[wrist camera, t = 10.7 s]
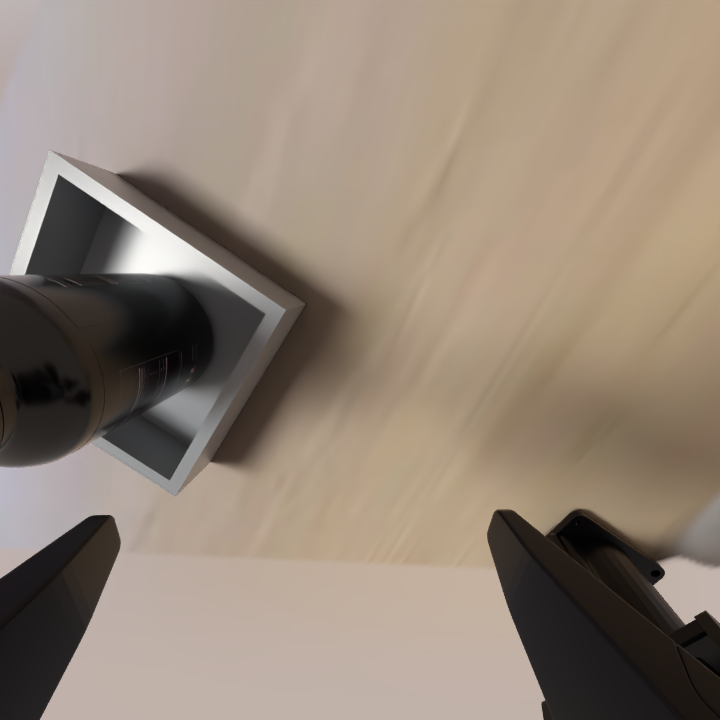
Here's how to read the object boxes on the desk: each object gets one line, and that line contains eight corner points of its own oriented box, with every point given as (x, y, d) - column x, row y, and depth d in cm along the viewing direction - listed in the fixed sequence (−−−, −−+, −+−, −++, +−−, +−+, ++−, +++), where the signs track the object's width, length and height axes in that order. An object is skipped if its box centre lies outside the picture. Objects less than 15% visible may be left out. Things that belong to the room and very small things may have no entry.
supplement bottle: (90, 345, 20) (-324, 442, 9) (136, 248, 18) (-309, 203, 7) (186, 412, 21) (-87, 588, 9) (240, 322, 19) (-14, 399, 7)
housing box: (306, 303, 19) (286, 309, 15) (209, 462, 22) (175, 496, 19) (114, 173, 18) (49, 150, 15) (44, 355, 21) (-22, 371, 18)
